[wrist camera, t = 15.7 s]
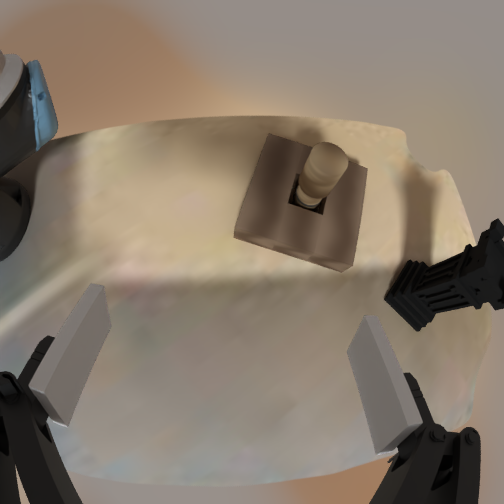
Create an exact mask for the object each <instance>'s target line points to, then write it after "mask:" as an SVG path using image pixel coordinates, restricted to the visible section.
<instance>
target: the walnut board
mask: <svg viewBox="0 0 504 504" xmlns="http://www.w3.org/2000/svg"><path fill="white" fill-rule="evenodd" d="M311 150H312V147H309V146H306V145H303V144H300V143H297V142H294V141H291V140H288V139H285V138H282V137H279V136H276V135H272V134H268V136H267V139H266V142H265V145H264V147H263V150H262V153H261V155H260V158H259V161H258V164H257V166H256V169H255V172H254V175H253V177H252V180H251V183H250V186H249V188H248V191H247V194H246V197H245V200H244V202H243V205H242V208H241V211H240V214H239V217H238V219H237V222H236V225H235V229H234V238H236V239H239V240H242V241H246V242H249V243H252V244H255V245H258V246H261V247H264V248H268V249H271V250H274V251H277V252H280V253H283V254H286V255H289V256H292V257H296V258H299V259H302V260H305V261H308V262H311V263H314V264H317V265H320V266H323V267H326V268H330V269H333V270H336V271H339V272H343V271H345V270H346V269H348V268H350V267H351V266H353V262H354V257H355V252H356V246H357V240H358V234H359V228H360V222H361V215H362V209H363V202H364V194H365V186H366V178H367V168H365V167H363V166H360V165H358V164H355V163H353V162H350V161H348V167H347V169H346V170H345V172H344V173H343V175H342V176H341V178H340V179H339V180H338V182H337V183H336V185H335V186H334V188H333V189H332V190H331V192H330V193H329V195H328V196H326V197H325V198H322V200H321V202H320V204H319V209H318V213H315V212H312V211H309V210H307V209H304V208H301V207H298V206H295V205H292V204H289V203H288V200H289V196H290V193H291V189H292V187H293V188H296V189H297V187H298V186H299V177H300V174H301V172H302V170H303V168H304V166H305V163H306V161H307V159H308V157H309V155H310V153H311Z"/></svg>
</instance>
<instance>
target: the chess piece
mask: <svg viewBox="0 0 504 504" xmlns="http://www.w3.org/2000/svg"><path fill="white" fill-rule="evenodd" d="M503 237H504V225H503V224H502V223H501V222H500V220H499V219H496V220H494V221H493V222H491V225H490V229H488V230H486V231H484V232H482V233H481V236H480V239H479V242H478V245H477V246H475V247H472V246H471V244H468V245H466V247H465V249H464V252H462V253H460V254H457V255H455V256H453V257H451V258H448V259H446V260H444V261H442V262H439V263H437V264H435V265H432V266H430V267H428V266H427V265H426V264H425V263H424V262H421V263H419V262H418V261H415V262H412V261H411V260H409V261H408V262H407V263H406V265H405V267H404V268H403V270H402V272H401V273H400V275H399V277H398V278H397V280H396V281H395V283H394V285H393V286H392V288H391V289H390V291H389V293H388V294H387V296H386V297H385V299H384V300H385V301H386V302H387V303H388V304H389V305H390V306H391V307H392V308H393V309H394V310H395V311H396V312H397V313H398V314H399V315H400V316H401V317H403V318H404V319H405V320H406V321H407V322H408V323H409V324H410V325H411V326H412V327H413V328H414V329H415V330H416V331H420V330H421V328H422V327H426V325H427V323H429V322H432V320H433V318H434V316H435V314H436V313H441V312H446V311H451V310H455V309H460V308H464V307H469V306H474V307H475V309H476V310H477V309H481V307H482V304H483V303H486V302H489V303H490V304H491V305H492V307H493V308H494V310H499V309H503V308H504V241H503V240H502V238H503Z"/></svg>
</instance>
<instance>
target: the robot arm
mask: <svg viewBox="0 0 504 504" xmlns="http://www.w3.org/2000/svg"><path fill="white" fill-rule="evenodd" d="M57 129H58V121H57V117H56V113H55V110H54V106H53V103H52V100H51V96H50V93H49V90H48V87H47V83H46V80H45V77H44V74H43V71H42V68H41V65H40V63H39V62H38V60H34V61H32V62H28V63H27V64H26V65H25V64H24V62H23V61H22V59H21V58H20V57H19V56H18V55H16V54H6V55H3V53H2V52H1V50H0V261H2V260H4V259H5V258H7V257H8V256H9V255H10V254H11V253H12V252H13V251H14V250H15V249H16V247H17V246H18V244H19V243H20V241H21V239H22V237H23V235H24V233H25V230H26V227H27V224H28V220H29V215H30V200H29V196H28V193H27V191H26V190H25V188H24V187H23V186H21V185H20V184H19V183H18V182H17V181H15V180H13V179H10V178H7V177H4V176H3V175H5V174H6V173H7V172H9V171H10V170H11V169H12V168H14V167H15V166H16V165H18V164H19V163H20V162H22V161H23V160H25V159H26V158H27V157H29V156H30V155H32V154H33V153H35V152H36V151H38V150H39V149H40V147H42V146H43V145H44V144H46V143H47V142H48V141H49V140H51V139H52V138H53V137H54V136H55V134H56V133H57ZM110 329H111V321H110V316H109V311H108V306H107V300H106V295H105V289H104V286H103V285H97V284H92V283H91V284H90V285H89V287H88V288H87V290H86V291H85V293H84V294H83V296H82V297H81V298H80V300H79V301H78V303H77V304H76V306H75V307H74V309H73V311H72V312H71V314H70V315H69V317H68V318H67V320H66V321H65V323H64V325H63V326H62V328H61V329H60V331H59V333H58V334H57V336H56V337H51V336H46V337H45V338H44V339H43V340H41V341H40V342H39V344H38V345H37V347H36V349H35V350H34V352H33V354H32V355H31V358H30V359H29V360H28V362H27V364H26V365H25V367H24V369H23V371H22V372H21V374H20V376H19V378H18V380H17V379H16V377H15V376H14V375H13V374H12V373H10V372H7V371H4V372H0V504H21V502H20V497H19V490H18V484H17V477H16V468H17V471H18V474H19V477H20V480H21V482H22V485H23V488H24V490H25V493H26V496H27V498H28V500H29V503H30V504H83V503H82V501H81V499H80V498H79V496H78V494H77V492H76V490H75V488H74V486H73V484H72V482H71V480H70V478H69V475H68V473H67V471H66V469H65V467H64V464H63V462H62V460H61V457H60V455H59V452H58V450H57V447H56V445H55V442H54V440H53V437H52V434H51V431H50V429H49V426H48V424H47V422H46V421H47V418H48V416H49V417H50V418H51V419H52V421H53V422H55V423H57V424H60V425H62V426H65V427H68V426H69V423H70V421H71V418H72V415H73V413H74V410H75V408H76V405H77V403H78V400H79V398H80V395H81V393H82V390H83V388H84V386H85V383H86V381H87V379H88V376H89V374H90V372H91V369H92V367H93V365H94V363H95V360H96V358H97V356H98V354H99V352H100V350H101V347H102V345H103V343H104V341H105V339H106V337H107V335H108V333H109V331H110ZM347 354H348V357H349V360H350V363H351V367H352V370H353V373H354V376H355V380H356V383H357V386H358V390H359V393H360V397H361V400H362V404H363V407H364V411H365V414H366V418H367V422H368V425H369V429H370V433H371V437H372V441H373V444H374V448H375V452H376V455H379V454H385V453H390V452H391V451H393V450H394V449H395V448H396V447H397V448H398V451H399V452H398V453H397V454H395V455H394V456H393V457H392V458H391V459H389V461H388V463H390V462H391V461H392V464H391V465H390V467H389V469H388V471H387V473H386V475H385V477H384V479H383V481H382V482H381V484H380V486H379V488H378V490H377V491H376V493H375V495H374V496H373V498H372V500H371V501H370V503H369V504H478V497H479V485H480V462H481V456H480V455H481V450H480V449H481V448H480V447H481V446H480V445H481V443H480V436H479V434H478V432H477V431H476V430H475V429H474V428H472V427H466V428H464V429H463V430H462V431H461V432H460V433H456V432H447V431H446V430H445V429H444V427H442V426H441V425H439V424H436V423H434V421H433V418H432V416H431V413H430V411H429V408H428V406H427V404H426V401H425V399H424V398H423V394H422V392H421V391H420V387H419V385H418V383H417V380H416V379H415V378H414V377H413V376H412V375H411V374H410V373H403V372H402V369H401V367H400V365H399V362H398V360H397V358H396V356H395V353H394V351H393V349H392V347H391V345H390V342H389V340H388V338H387V336H386V334H385V332H384V330H383V327H382V325H381V323H380V321H379V319H378V317H377V316H370V315H364V317H363V319H362V321H361V324H360V326H359V328H358V330H357V332H356V334H355V336H354V338H353V340H352V342H351V344H350V346H349V348H348V350H347ZM15 465H16V468H15Z"/></svg>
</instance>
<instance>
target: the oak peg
mask: <svg viewBox="0 0 504 504" xmlns="http://www.w3.org/2000/svg"><path fill="white" fill-rule="evenodd" d="M347 167H348V158H347V156H346V154H345V152H344V151H343V150H342V149H341V148H340V147H338V146H337V145H335V144H332V143H329V142H321V143H318V144H316V145H315V146H314V147H313V148H312V150H311V153H310V155H309V157H308V159H307V161H306V163H305V166H304V168H303V170H302V172H301V174H300V177H299V186H298V187H297V189H296V192H295V194H294V196H293V205H295V206H298V207H301V208H304V209H307V210H309V211H313V210H314V209H315V208H316V207H317V205H318V204H319V203H320V202H321V200H322V198H325V197H326V196H328V195H329V193H330V192H331V190H332V189H333V188H334V186H335V185H336V183H337V182H338V180H339V179H340V178H341V176H342V175H343V173H344V172H345V170H346V169H347Z"/></svg>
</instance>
